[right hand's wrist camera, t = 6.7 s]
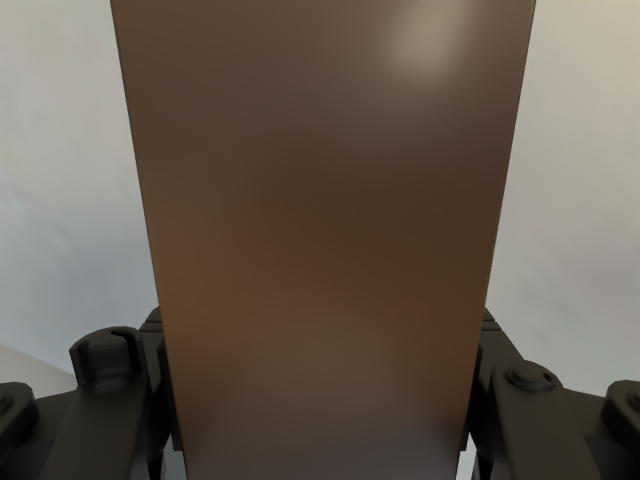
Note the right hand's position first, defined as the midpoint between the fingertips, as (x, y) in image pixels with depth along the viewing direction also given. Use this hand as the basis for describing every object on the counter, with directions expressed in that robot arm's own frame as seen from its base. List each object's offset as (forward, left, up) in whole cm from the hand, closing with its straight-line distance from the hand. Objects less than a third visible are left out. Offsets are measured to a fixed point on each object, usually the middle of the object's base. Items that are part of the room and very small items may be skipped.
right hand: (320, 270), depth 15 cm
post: (-3, -26, -1) cm, 26 cm away
